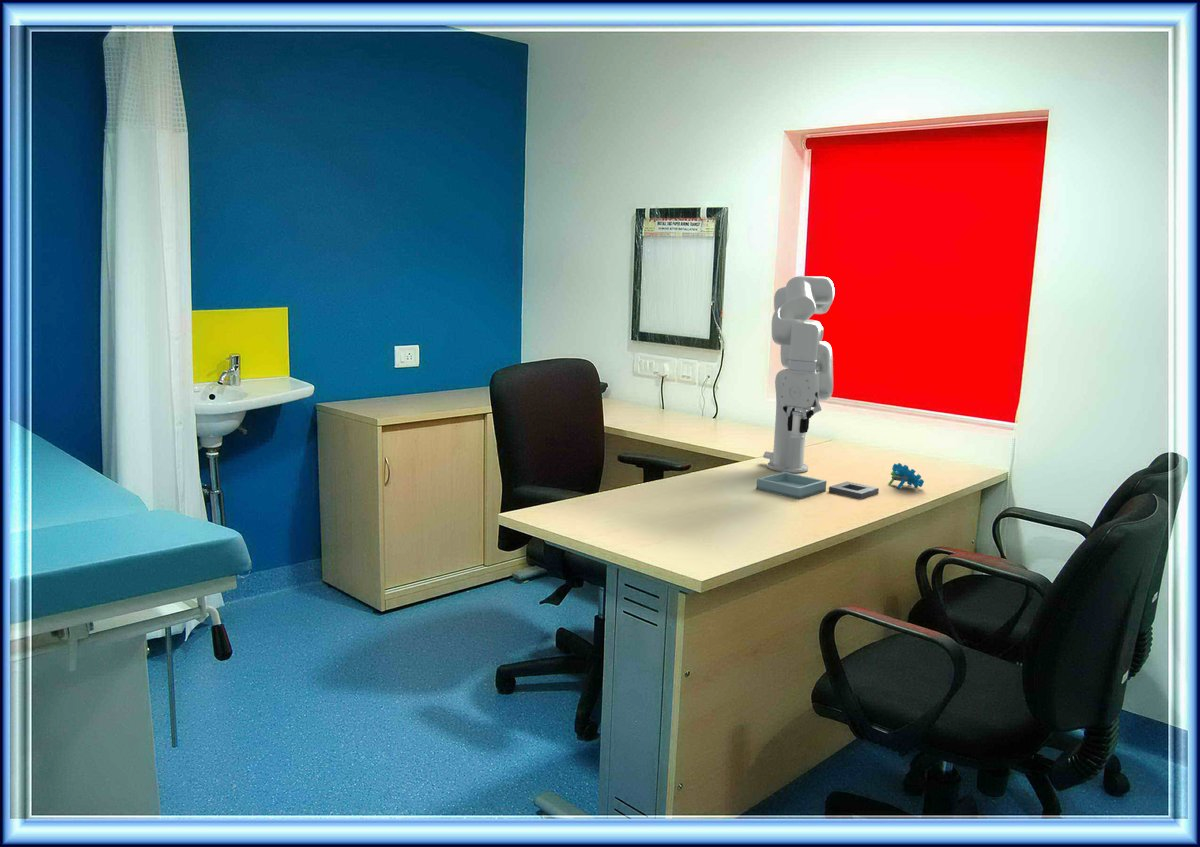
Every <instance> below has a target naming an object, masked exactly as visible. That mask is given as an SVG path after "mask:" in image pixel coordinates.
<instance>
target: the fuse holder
mask: <svg viewBox="0 0 1200 847" xmlns="http://www.w3.org/2000/svg"><path fill="white" fill-rule="evenodd" d="M879 488H880V487H876V486H871V485H865V484H861V483H855V482H851V481H844V482H843V481H842V482H839V483H837V484H834V485H830V486H828V493H833V494H836V493H837V495H842V496H845V495H846V497H851V498H856V499H860V500H862V499H866V498H868V497H871V496H874V495H878V494H879V490H880V489H879Z"/></svg>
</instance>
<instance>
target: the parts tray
mask: <svg viewBox="0 0 1200 847" xmlns="http://www.w3.org/2000/svg"><path fill="white" fill-rule="evenodd" d="M755 489H756V490H757V491H758V490H759V491H764V492H767V493H771V494H776V495H779V496H784V497H788V498H792V499H796V500H800V499H804V498H807V497H811V496H814V495H818V494H821V493H825V492H827V480H824V479H819V478H815V477H814V478H813V477H809V476H805V475H801V474H798V473H789V472H778V473H775V474H771V475H767V476H763V477H760V478H756V488H755ZM817 493H818V494H817Z"/></svg>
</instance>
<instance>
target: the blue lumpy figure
mask: <svg viewBox="0 0 1200 847" xmlns="http://www.w3.org/2000/svg"><path fill="white" fill-rule="evenodd" d="M891 470H892V471H891V473H890V475H891V480H890V481H889V483H888V485H889V486H891V485H892V484H893V483H894V481H898V482H899V484H898V485H897V486H896V488H897V489H899V490H900V489H901V488H902V487H903V486H904V484H905V483H907V485H908V486H912V485H913V487H914V488H919V487H920V488H921V487H922V486H924V483H925V481H924V480H923V479H922V476H921V475H920V474H919V473H918V474H917V475H916V474H915V473H916V470H915V469H913V468H911V469H909V466H908V465H906V464H903V465H902V463H900V462H898V463H894V464H893V465H892V468H891Z"/></svg>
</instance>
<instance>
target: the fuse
mask: <svg viewBox="0 0 1200 847" xmlns="http://www.w3.org/2000/svg"><path fill="white" fill-rule="evenodd" d="M792 414H793V420H792V434H791V438H793V439H804V435H803V433H800V420H801V419H802V418H803V416H802V411H792Z"/></svg>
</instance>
